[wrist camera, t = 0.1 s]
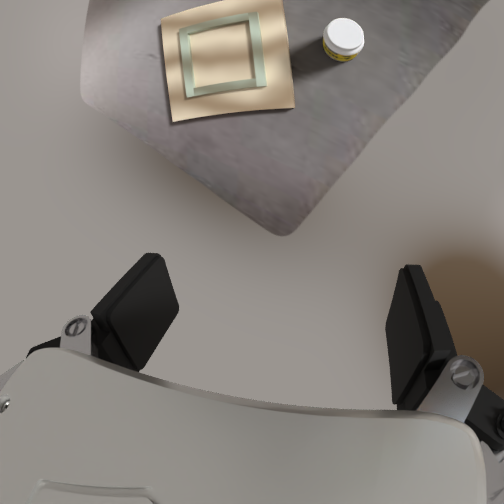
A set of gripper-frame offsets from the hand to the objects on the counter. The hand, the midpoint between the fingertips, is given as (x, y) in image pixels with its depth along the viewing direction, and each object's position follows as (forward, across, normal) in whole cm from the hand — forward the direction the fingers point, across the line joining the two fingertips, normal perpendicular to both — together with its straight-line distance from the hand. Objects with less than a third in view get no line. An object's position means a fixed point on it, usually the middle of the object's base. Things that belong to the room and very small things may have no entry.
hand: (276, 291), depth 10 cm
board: (+31, +11, -15) cm, 36 cm away
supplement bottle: (+31, -5, -15) cm, 35 cm away
